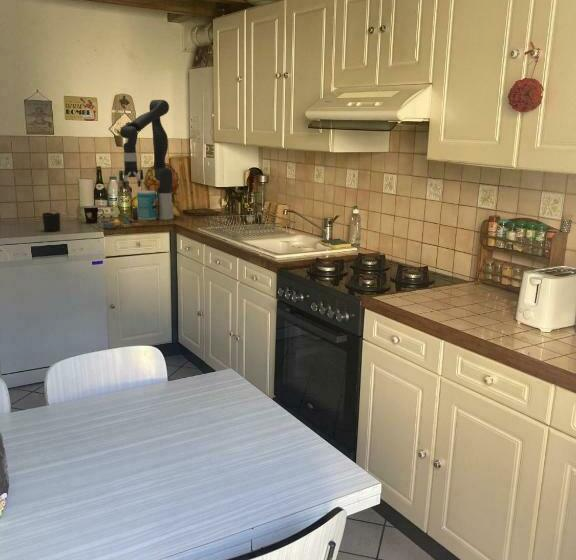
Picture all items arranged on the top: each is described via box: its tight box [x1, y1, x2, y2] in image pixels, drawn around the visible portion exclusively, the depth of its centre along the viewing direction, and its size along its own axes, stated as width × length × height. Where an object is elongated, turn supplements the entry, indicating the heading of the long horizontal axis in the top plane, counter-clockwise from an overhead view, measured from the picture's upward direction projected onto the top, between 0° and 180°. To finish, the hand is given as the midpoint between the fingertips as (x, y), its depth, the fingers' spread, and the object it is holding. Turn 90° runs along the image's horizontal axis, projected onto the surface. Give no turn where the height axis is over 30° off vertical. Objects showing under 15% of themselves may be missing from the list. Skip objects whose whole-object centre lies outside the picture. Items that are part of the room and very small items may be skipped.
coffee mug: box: [83, 205, 105, 224], centre depth 387 cm, size 12×9×10 cm
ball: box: [112, 219, 121, 227], centre depth 378 cm, size 4×4×4 cm
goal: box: [97, 220, 115, 229], centre depth 374 cm, size 7×10×3 cm, turn 35°
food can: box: [136, 190, 158, 221], centre depth 404 cm, size 12×12×18 cm
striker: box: [123, 207, 143, 224], centre depth 383 cm, size 9×6×10 cm, turn 125°
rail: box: [119, 221, 144, 228], centre depth 383 cm, size 14×8×2 cm, turn 125°
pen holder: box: [42, 212, 61, 233], centre depth 359 cm, size 9×9×10 cm
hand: (132, 187), depth 379 cm, fingers open, 8 cm apart
